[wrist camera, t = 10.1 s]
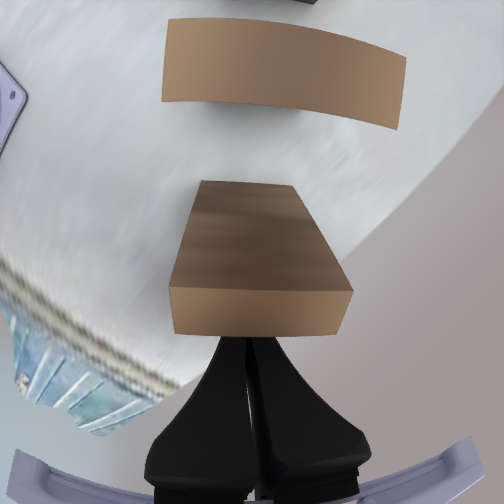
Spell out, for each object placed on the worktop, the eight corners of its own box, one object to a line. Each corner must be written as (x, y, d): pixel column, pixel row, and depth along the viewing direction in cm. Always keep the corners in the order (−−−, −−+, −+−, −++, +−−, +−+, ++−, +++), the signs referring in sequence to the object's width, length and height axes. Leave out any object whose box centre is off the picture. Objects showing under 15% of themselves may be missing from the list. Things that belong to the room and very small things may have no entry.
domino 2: (200, 211, 14) (174, 333, 7) (201, 180, 13) (168, 286, 6) (288, 215, 14) (336, 334, 7) (292, 185, 13) (353, 291, 7)
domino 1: (205, 99, 11) (161, 101, 4) (207, 66, 10) (169, 19, 3) (303, 107, 11) (396, 130, 5) (306, 75, 11) (405, 57, 4)
